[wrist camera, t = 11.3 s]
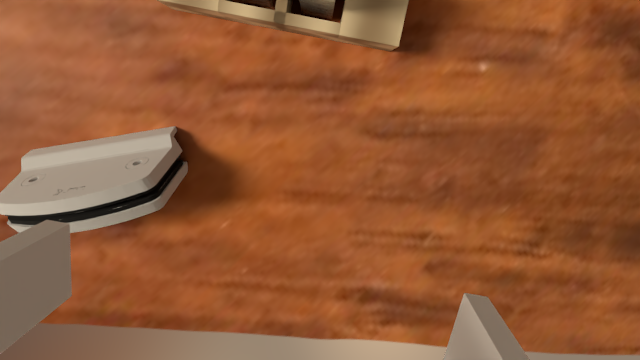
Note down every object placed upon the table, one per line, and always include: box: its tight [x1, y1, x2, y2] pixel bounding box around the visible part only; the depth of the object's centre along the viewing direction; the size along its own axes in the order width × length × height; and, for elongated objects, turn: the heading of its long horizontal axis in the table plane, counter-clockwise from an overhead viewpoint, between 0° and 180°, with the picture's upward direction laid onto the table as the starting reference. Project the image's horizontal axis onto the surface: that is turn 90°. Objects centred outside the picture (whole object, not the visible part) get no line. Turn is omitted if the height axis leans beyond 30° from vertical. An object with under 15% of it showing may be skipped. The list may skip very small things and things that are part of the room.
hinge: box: [0, 126, 188, 233], centre depth 36 cm, size 17×5×10 cm, turn 99°
